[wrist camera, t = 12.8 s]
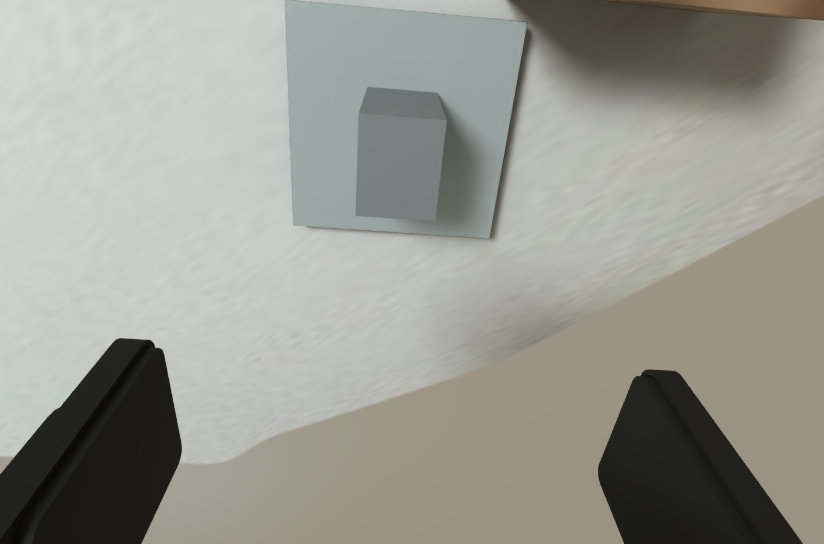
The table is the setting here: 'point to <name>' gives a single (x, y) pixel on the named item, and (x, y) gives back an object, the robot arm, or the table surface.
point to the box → (744, 7)
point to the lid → (398, 117)
